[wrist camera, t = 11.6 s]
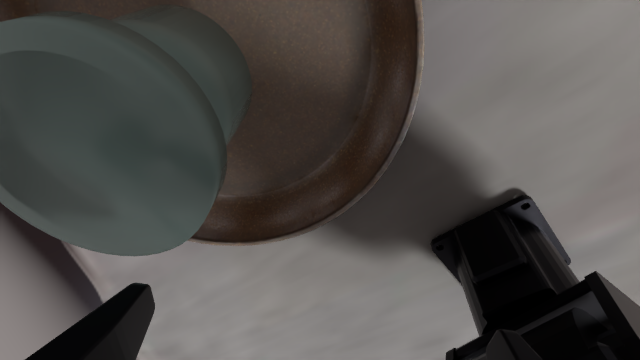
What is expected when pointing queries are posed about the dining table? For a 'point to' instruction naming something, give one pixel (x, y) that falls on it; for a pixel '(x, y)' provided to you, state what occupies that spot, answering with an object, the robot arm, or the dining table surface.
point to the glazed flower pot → (118, 124)
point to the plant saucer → (300, 105)
